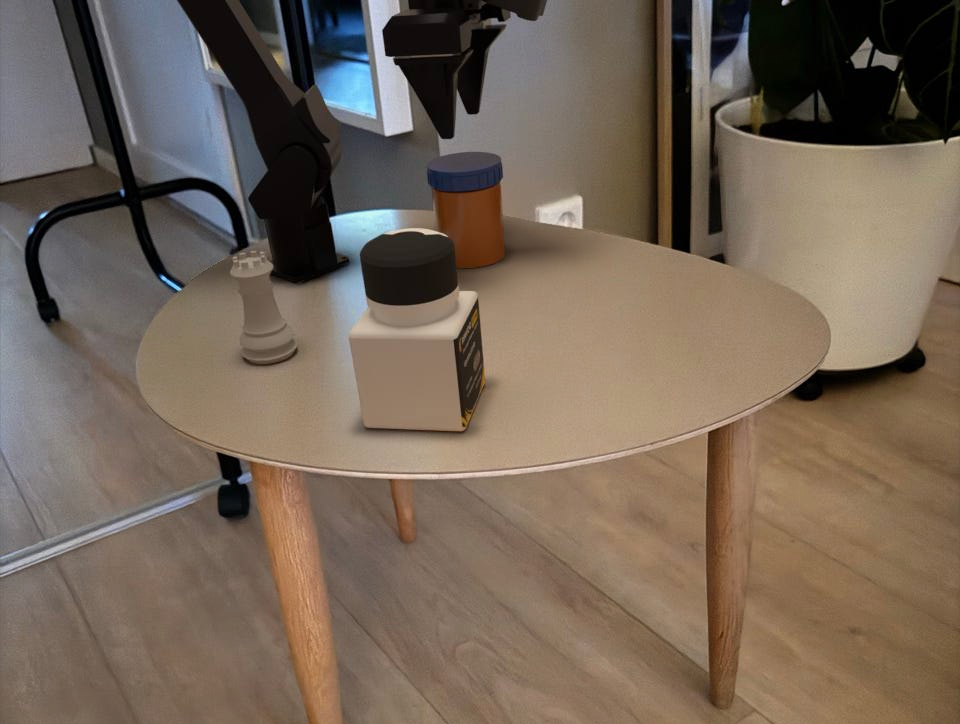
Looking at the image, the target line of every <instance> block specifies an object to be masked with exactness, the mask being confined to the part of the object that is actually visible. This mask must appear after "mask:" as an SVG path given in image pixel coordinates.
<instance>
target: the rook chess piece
mask: <svg viewBox="0 0 960 724" xmlns="http://www.w3.org/2000/svg"><path fill="white" fill-rule="evenodd" d="M231 260H232V264H233V265H232V267H231V268H230V271H229V274H230V275H231V277H233V279H235V280H236V281H237V282H238V284H239V286H238V288H237V293H238V294H239V295H240V296H241V300H242V307H243V316H244V321H243V326H241V329H242V332H241V334H240V336H239V345H240V346H241V347H243V348H242V349H241V356H242V357H243V358H244V359H246V360H247V361H248V362H250V363H252V364H257V365H271V364H276V363H280V362H282V361H284V360H286V359H288V358H290V357H291V356H293V354H294V352H295V351H296V348H297V347H298V342H297V340H296V339H294V336H295V331H294V329H293V327H292V326H291V325H289V324H288V323H287V320H286V318H285V317H283V316H282V313H281V312H280V310H279V307H278V304H277V302H276V299H275V295H274V289H275V283H274V282H273V281H271V279H270V275H271V271H272V269H273V264H272V263H271V262H269V261H270V260H268V259H267V255H266V253H265V252H264V251H260V252H258V251H257V250H251V251H250V257H247V253H246V252H241V253H238V256H233V257H231Z"/></svg>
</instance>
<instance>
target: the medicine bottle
mask: <svg viewBox="0 0 960 724" xmlns="http://www.w3.org/2000/svg"><path fill="white" fill-rule="evenodd" d="M359 261H360V268H361V273H362V274H361V275H362V280H363V288H364V294H365V299H366V305H367V308H366V309H365V310H364V312H363V313H362V314H361V316H360V317H359V318H358V320H357V321H356V323H355V324H354V325H353V327H352V328H351V329H350V331H349V332H348V342H349V347H350V354H351V360H352V366H353V371H354V376H355V383H356V389H357V394H358V400H359V407H360V411H361V418H362V422H363V425H364V427H365V428H368V429H389V430H391V429H392V430H413V431H414V430H415V431H438V432H439V431H440V432H442V431H443V432H444V431H445V432H463V431H465V430H466V429H467V426H468V424H469V421H470V419H471V417H472V414H473V411H474V409H475V407H476V405H477V402H478V400H479V397H480V395H481V393H482V390H483V388H484V386H485V383H486V375H485V373H486V372H485V362H484V349H483V339H482V328H481V327H482V326H481V316H480V315H481V314H480V303H479V295H478V292H477V291H475V290H460V287H459V278H458V276H459V275H458V268H457V265H456V255H455V245H454V242H453V241H452V240H451V239H450V238H449V237H448V236H447V235H445V234H443V233H440V232H437V231H436V230H433V229H429V228H421V227H414V228H413V227H411V228H409V227H408V228H401V229H396V230H391V231H388V232H384V233H381V234H380V235H378V236H376V237H373V239H370V240H368V241H367V242H366V243H365V244H364V245H363V247H362V248H361V250H360V252H359Z"/></svg>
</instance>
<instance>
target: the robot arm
mask: <svg viewBox="0 0 960 724" xmlns="http://www.w3.org/2000/svg"><path fill="white" fill-rule="evenodd" d="M176 1H177V3H178V4H179V6H180V8H181V9H182V11H183V12H184V14H185V15H186V17H187V18H188V20H189V21H190V23H191V25H192V26H193V27H194V29H195V31H196V33H197V34H198V36H199V38H201V41H203V43H204V45H205V46H206V48H207V49H208V50H209V53H210V54H211V55H212V57H213V58H214V60H215V62H216V63H217V65H218V66H219V68H220V70H221V71H222V72H223V74H224V75H225V77H226V78H227V80H228V81H229V83H230V85H231V87H232V88H233V89H234V91H235V92H236V94H237V96H238V97H239V98H240V100H241V102H242V103H243V106H244V109H245V111H246V114H247V118H248V121H249V125H250V129H251V133H252V136H253V139H254V143H255V145H256V148H257V150H258V152H259V154H260V157H261V158H262V161H263V163H264V165H265V167H266V169H267V171H266V172H265V174H264V175H263V176H262V177H261V179H260V181H259V182H258V183H257V185H256V186H255V187H254V189H252V191H251V193H250V194H249V195H248V198H247V200H248V203H249V204H250V206H251V208H252V209H253V211H254V213H255V214H256V216H257V218H258V219H260V220H263V224H264V228H265V232H266V236H267V242H268V246H269V251H270V256H271V259H269V260H268V261H269V262H271V263H272V264H273V269H272V271H271V273H270V275H274V276H275V277H276V276H277V277H280V278H282V279H285V280H288V281H291V282H294V283H301V282H304V281H307V280H309V279H312V278H314V277H317V276H319V275H322V274H324V273H328V272H329V271H332V270H334V269H337V268H339V267H342V266H344V265H346V264H349V263H350V262H351V260H350V259H351V258H350V257H349V256H348V255H345V254H341V253H338V252H337V249H336V242H335V236H334V231H333V225H332V222H331V221H330V219H331V218H330V214H329V208H328V203H326V202H325V200H324V197H322V196H321V193H322V192H323V191H324V190H325V187H326V186H327V184H328V183H329V181H330V179H331V177H332V175H333V174H334V173H335V169H336V168H337V166H338V165H339V163H340V161H341V158H342V153H343V140H342V137H341V135H340V133H339V131H338V130H339V129H340V127H341V126H342V122H341V121H340V120H339V119H338V118H336V117H335V116H334V115H333V113H331V111H330V110H329V109H328V106H327V104H326V101H325V98H324V97H323V94H322V92H321V90H320V88H319V87H318V85H317V84H313V85H312V86H311V87H310V88H309V89H308V90H307V91H306V92H304V91H303V90H301V89H300V87H298V86H297V85H296V84H295V83H293V81H292V80H290V79H289V78H288V76H287V75H286V74H285V73H284V71H283V70H282V68H281V65H279V63H278V61H277V60H276V58H275V57H274V55H273V54H272V51H270V49H269V47H268V45H267V44H266V42H265V40H264V39H263V38H262V36H261V34H260V32H259V31H258V29H257V28H256V26H255V24H254V23H253V21H252V19H251V18H250V16H249V14H248V13H247V11H246V9H245V8H244V6H243V5H242V3H241V1H240V0H176ZM547 2H548V0H407V3H408V9H403V10H402V11H400V12H397V13H396V14H395V13H394V15H391V17H389V19H388V21H387V22H386V24H385V25H384V26H383V28H382V29H381V33H382V40H383V48H384V56H385V57H389V58H392V60H393V64H394V66H397V67H399V69H400V71H401V72H402V74H403V76H404V77H405V78H406V80H407V82H408V84H409V85H410V87H411V88H412V90H413V91H414V93H415V95H416V97H417V98H418V100H419V102H420V103H421V106H422V107H423V109H424V110H425V113H426V114H427V116H428V118H429V119H430V121H431V124H432V125H433V127H434V129H435V130H436V132H437V134H438V136H439V137H440V139H441V140H453V139H454V137H455V135H456V121H457V120H456V119H457V100H458V98H457V97H458V96H459V98H460V100H461V103H462V106H463V107H464V110H465V112H466V114H467V115H469V116H470V115H478V114H479V113H480V109H481V104H482V98H483V90H484V84H485V77H486V70H487V65H488V59H489V52H490V48H491V47H492V45H493V44H494V42H495V41H496V40H497V39H498V38H499V37H500V36H501V34H502V33H503V32H504V31H505V30H506V28H507V24H506V23H504V22H507V21H508V20H509V19H510V18H512V15H511V13H513V14H516V16H517V18H519V19H522V20H526V21H529V22H536V21H538V20H539V17H543V16H544V13H545V9H546V7H547ZM492 19H497V22H498V23H500V24H498V23H497V24H496V23H495V24H492Z"/></svg>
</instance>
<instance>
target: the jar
mask: <svg viewBox="0 0 960 724" xmlns="http://www.w3.org/2000/svg"><path fill="white" fill-rule="evenodd" d="M501 181H502V180H501ZM501 181H500V182H498V183H497V184H495V185H492V186H490V187H486V188H482V189H478V190H471V191H457V192H454V191H442V190H437V189H434V188H432V187H430V189H431V197H432V205H433V207H432V208H433V216H434V224H435V231H437V232H440V233H443V234H445V235H447V236H448V237H449V238H450V239H451V240H452V241H453V242H454V245H455V255H456V265H457V269H475V268H483V267H486V266H490V265H493V264H496V263H498V262H500V261H501V260H502V259H503V258H504V257H505V255H506V244H505V228H504V214H503V213H504V212H503V197H502V184H501V183H502V182H501Z"/></svg>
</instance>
